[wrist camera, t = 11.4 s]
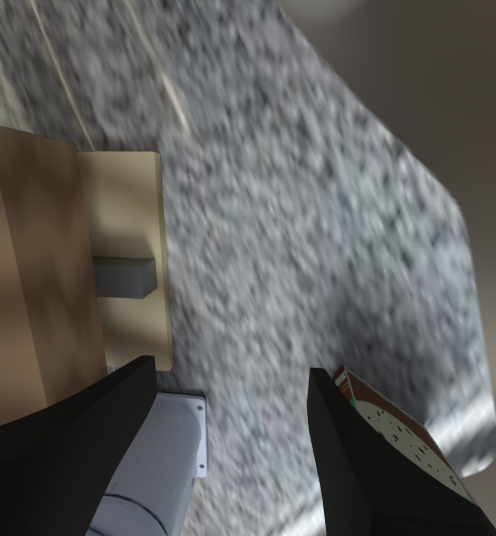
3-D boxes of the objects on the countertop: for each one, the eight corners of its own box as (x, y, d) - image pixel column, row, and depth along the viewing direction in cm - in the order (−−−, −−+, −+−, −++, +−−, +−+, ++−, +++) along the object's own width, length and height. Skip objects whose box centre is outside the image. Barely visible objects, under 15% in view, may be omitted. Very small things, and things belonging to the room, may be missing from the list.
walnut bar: (109, 386, 22) (56, 447, 17) (63, 382, 22) (-4, 441, 17) (76, 144, 17) (-14, 122, 12) (18, 144, 17) (-95, 122, 12)
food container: (283, 399, 25) (288, 531, 15) (330, 354, 23) (368, 469, 13) (385, 473, 26) (450, 640, 16) (436, 435, 24) (543, 596, 14)
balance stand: (173, 364, 25) (157, 391, 21) (52, 355, 26) (18, 379, 23) (160, 153, 20) (136, 145, 17) (12, 153, 21) (-38, 145, 18)
